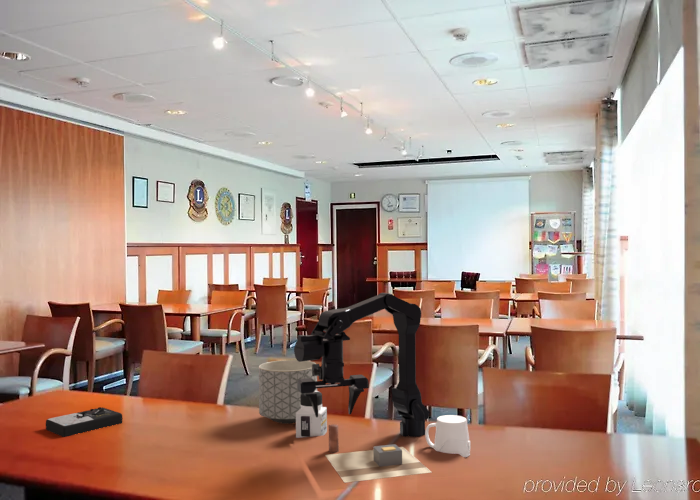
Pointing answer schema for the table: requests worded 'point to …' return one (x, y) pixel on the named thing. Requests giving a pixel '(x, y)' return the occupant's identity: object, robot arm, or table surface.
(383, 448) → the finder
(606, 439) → the table surface
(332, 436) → the brown cylinder
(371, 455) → the board
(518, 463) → the table surface
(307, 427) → the container
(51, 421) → the multimeter
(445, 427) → the mug
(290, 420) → the planter
